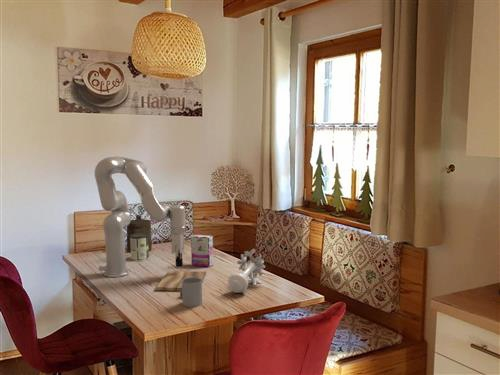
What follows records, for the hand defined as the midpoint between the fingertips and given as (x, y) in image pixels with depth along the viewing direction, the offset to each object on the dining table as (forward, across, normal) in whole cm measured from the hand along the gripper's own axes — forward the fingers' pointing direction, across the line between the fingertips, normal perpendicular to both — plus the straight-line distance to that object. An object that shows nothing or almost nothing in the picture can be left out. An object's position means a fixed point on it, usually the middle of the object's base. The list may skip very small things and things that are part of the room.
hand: (179, 266), depth 261 cm
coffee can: (+5, -36, -29) cm, 47 cm away
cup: (+6, +41, +13) cm, 43 cm away
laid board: (+5, +10, +8) cm, 14 cm away
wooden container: (+5, -58, -35) cm, 68 cm away
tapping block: (+6, +30, +10) cm, 32 cm away
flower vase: (+6, +18, +35) cm, 39 cm away
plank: (+5, +10, -2) cm, 11 cm away
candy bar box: (+6, -22, +9) cm, 24 cm away
